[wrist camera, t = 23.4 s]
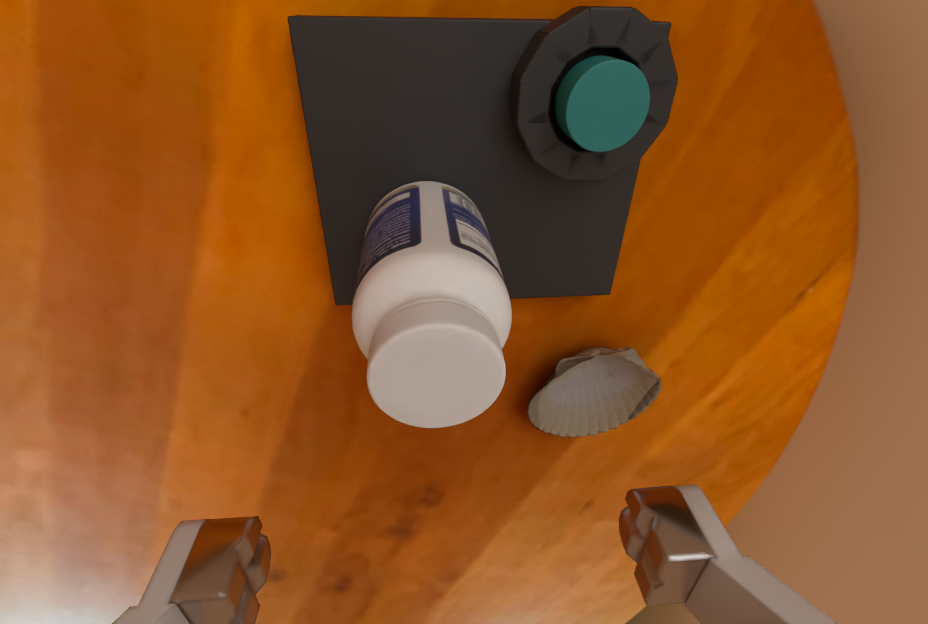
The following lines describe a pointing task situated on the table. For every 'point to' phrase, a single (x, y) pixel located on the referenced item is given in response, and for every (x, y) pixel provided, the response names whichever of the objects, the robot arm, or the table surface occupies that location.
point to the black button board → (477, 133)
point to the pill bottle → (431, 307)
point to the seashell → (593, 393)
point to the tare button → (602, 103)
